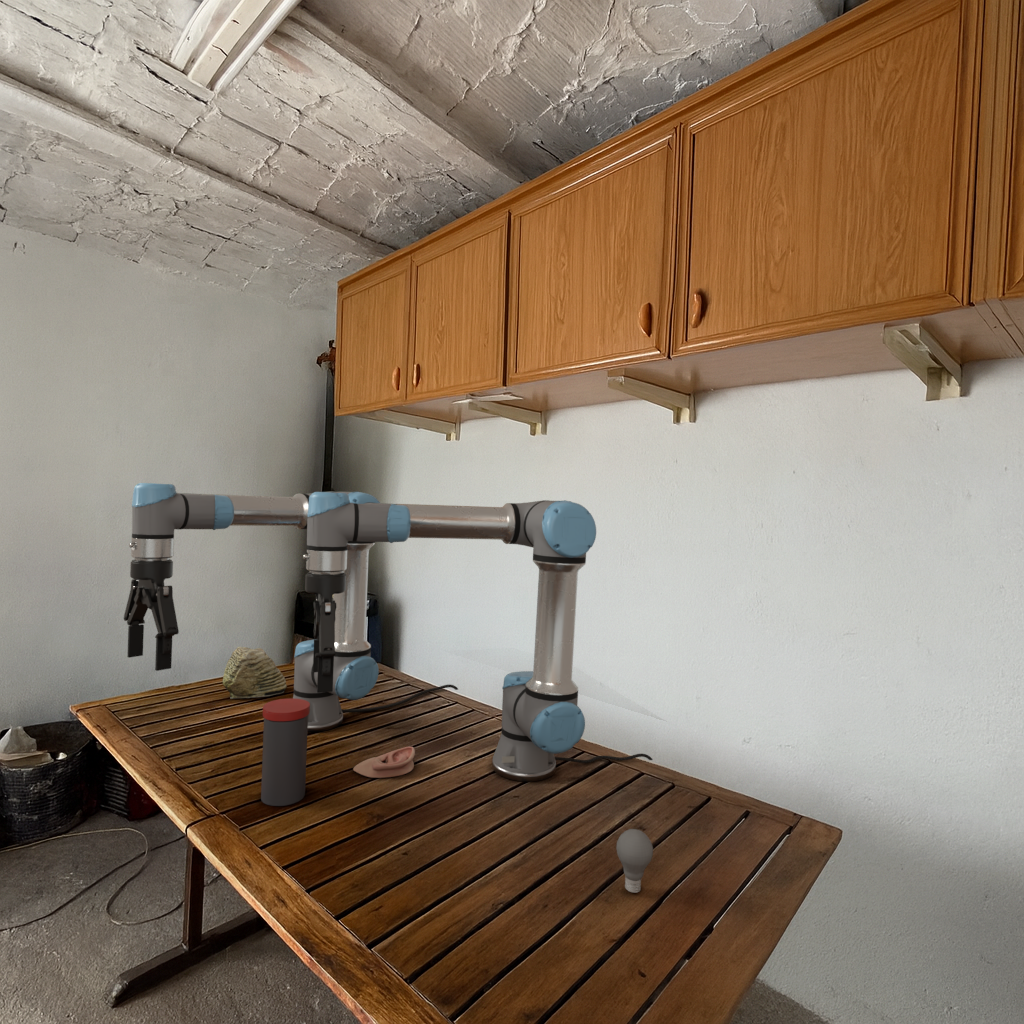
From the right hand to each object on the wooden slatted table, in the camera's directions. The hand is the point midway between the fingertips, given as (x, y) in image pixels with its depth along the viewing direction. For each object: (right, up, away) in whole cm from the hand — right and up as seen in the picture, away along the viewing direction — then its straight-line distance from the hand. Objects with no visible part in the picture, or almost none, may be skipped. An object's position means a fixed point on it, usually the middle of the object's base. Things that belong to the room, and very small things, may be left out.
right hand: (322, 681), depth 123 cm
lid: (-11, -8, +10) cm, 17 cm away
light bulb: (+57, -31, -17) cm, 67 cm away
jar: (-11, -27, +11) cm, 31 cm away
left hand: (-37, +2, +7) cm, 38 cm away
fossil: (-44, -25, +75) cm, 91 cm away
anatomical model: (+7, -28, +26) cm, 39 cm away
